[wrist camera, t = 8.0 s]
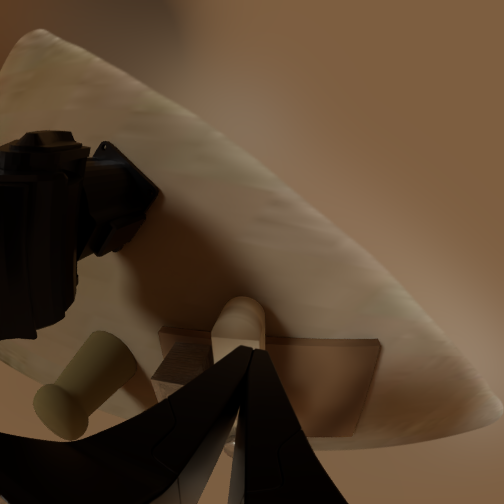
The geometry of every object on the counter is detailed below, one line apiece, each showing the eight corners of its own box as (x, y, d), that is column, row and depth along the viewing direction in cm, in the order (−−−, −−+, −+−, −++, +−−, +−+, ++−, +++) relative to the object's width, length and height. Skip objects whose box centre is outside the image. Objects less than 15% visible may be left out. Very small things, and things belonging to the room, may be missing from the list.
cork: (79, 332, 26) (13, 392, 15) (118, 327, 24) (45, 401, 14) (106, 378, 27) (52, 443, 17) (146, 378, 26) (92, 457, 15)
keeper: (271, 417, 24) (263, 465, 19) (197, 409, 26) (178, 452, 20) (270, 341, 22) (260, 393, 16) (180, 335, 23) (150, 379, 17)
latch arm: (271, 432, 23) (267, 456, 21) (226, 427, 24) (219, 450, 21) (275, 297, 19) (271, 320, 16) (211, 294, 20) (198, 315, 17)
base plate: (182, 415, 26) (179, 421, 25) (163, 326, 23) (158, 332, 22) (351, 429, 24) (352, 436, 23) (377, 338, 20) (380, 346, 19)
